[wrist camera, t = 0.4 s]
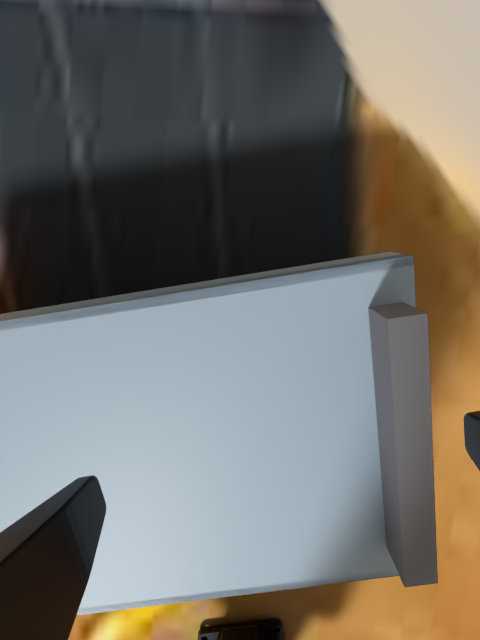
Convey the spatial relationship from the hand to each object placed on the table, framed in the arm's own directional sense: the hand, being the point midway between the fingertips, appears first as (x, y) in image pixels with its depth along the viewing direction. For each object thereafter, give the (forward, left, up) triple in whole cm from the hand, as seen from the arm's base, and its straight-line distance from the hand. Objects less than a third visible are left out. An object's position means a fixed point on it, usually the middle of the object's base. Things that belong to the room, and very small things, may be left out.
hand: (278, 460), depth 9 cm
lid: (-4, +5, -9) cm, 11 cm away
